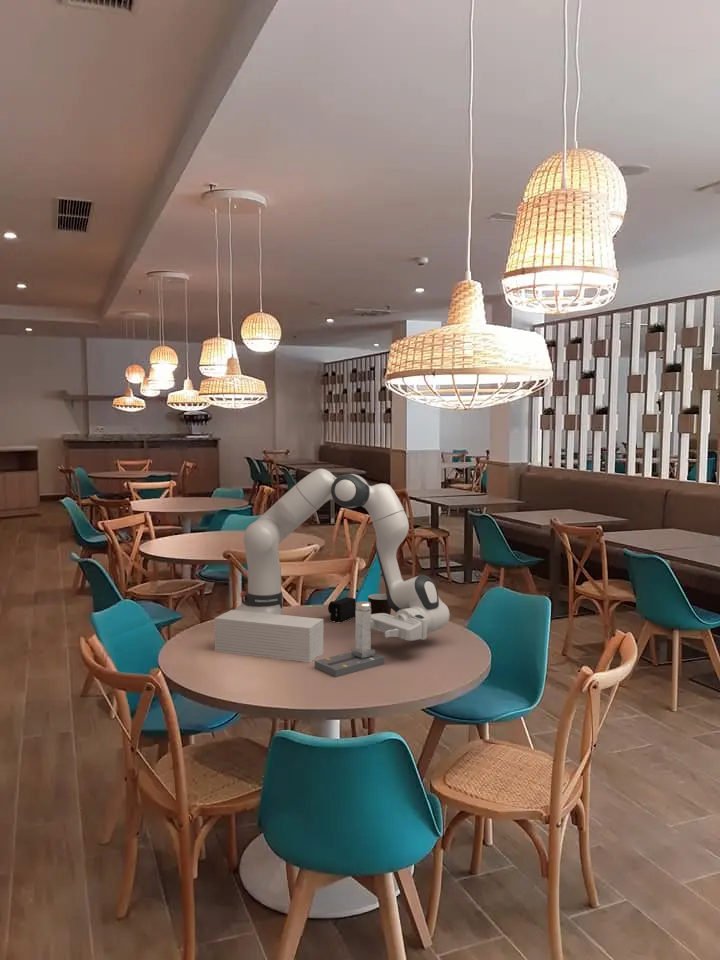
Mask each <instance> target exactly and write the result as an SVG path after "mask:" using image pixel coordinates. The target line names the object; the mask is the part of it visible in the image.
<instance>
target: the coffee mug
mask: <svg viewBox="0 0 720 960" xmlns="http://www.w3.org/2000/svg"><path fill="white" fill-rule="evenodd" d="M367 600H368V601H367V602H370V603H371V614H377V613H386V614H390V615H392V614H391V613H392V608H391V607H390V606H389V604H388V601H387V596H386V593H373V594H369V595H368V596H367Z"/></svg>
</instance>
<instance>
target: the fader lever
mask: <svg viewBox="0 0 720 960" xmlns="http://www.w3.org/2000/svg"><path fill="white" fill-rule="evenodd" d="M371 632H372V628H371V603H370V602H369V601H363V600H361V601H356V617H355V645H354V646H355V647H354V648H351V649H350V652H351V655H354V656H357V657H359V658H366V657H370V656H374V655H375V654H376V649H373V648H372V647H371V646H372V640H371V639H372V638H371V637H372V635H371V634H372V633H371Z"/></svg>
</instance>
